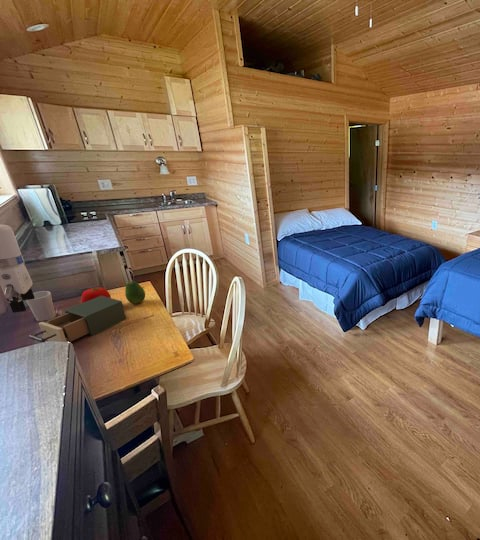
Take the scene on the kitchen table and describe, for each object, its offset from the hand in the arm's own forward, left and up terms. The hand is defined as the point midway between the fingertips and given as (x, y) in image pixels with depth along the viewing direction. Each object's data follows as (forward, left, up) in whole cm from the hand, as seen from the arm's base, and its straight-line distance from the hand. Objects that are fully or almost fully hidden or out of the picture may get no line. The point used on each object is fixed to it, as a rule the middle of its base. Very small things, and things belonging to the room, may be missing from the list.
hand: (24, 305), depth 108 cm
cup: (+14, +24, -20) cm, 35 cm away
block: (+9, 0, -18) cm, 20 cm away
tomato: (+29, +14, -20) cm, 38 cm away
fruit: (+40, +3, -20) cm, 45 cm away
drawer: (+8, 0, -19) cm, 21 cm away
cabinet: (+20, 0, -20) cm, 29 cm away
